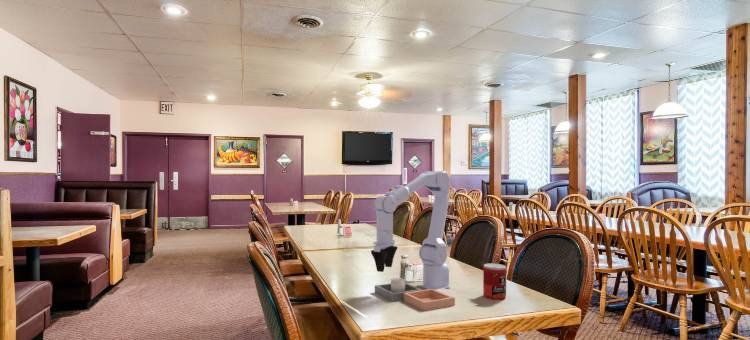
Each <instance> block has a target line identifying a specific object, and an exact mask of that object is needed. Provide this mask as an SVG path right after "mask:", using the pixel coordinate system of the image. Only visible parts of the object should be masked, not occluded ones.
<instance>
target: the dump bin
mask: <svg viewBox="0 0 750 340" xmlns="http://www.w3.org/2000/svg"><path fill="white" fill-rule="evenodd" d="M402 301H403V302H406V303H407V304H410V305H412V306H415V307H416V308H417V309H420V310H422V311H424V312H426V311H431V310H436V309H441V308H447V307H454V306H455V305H456V302H455V301H456V298H455V297H454V296H452V295H449V294H447V293H444V292H442V291H439V290H437V289H427V288H426V289H422V290H420V291H414V292H407V293H403V300H402Z"/></svg>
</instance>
